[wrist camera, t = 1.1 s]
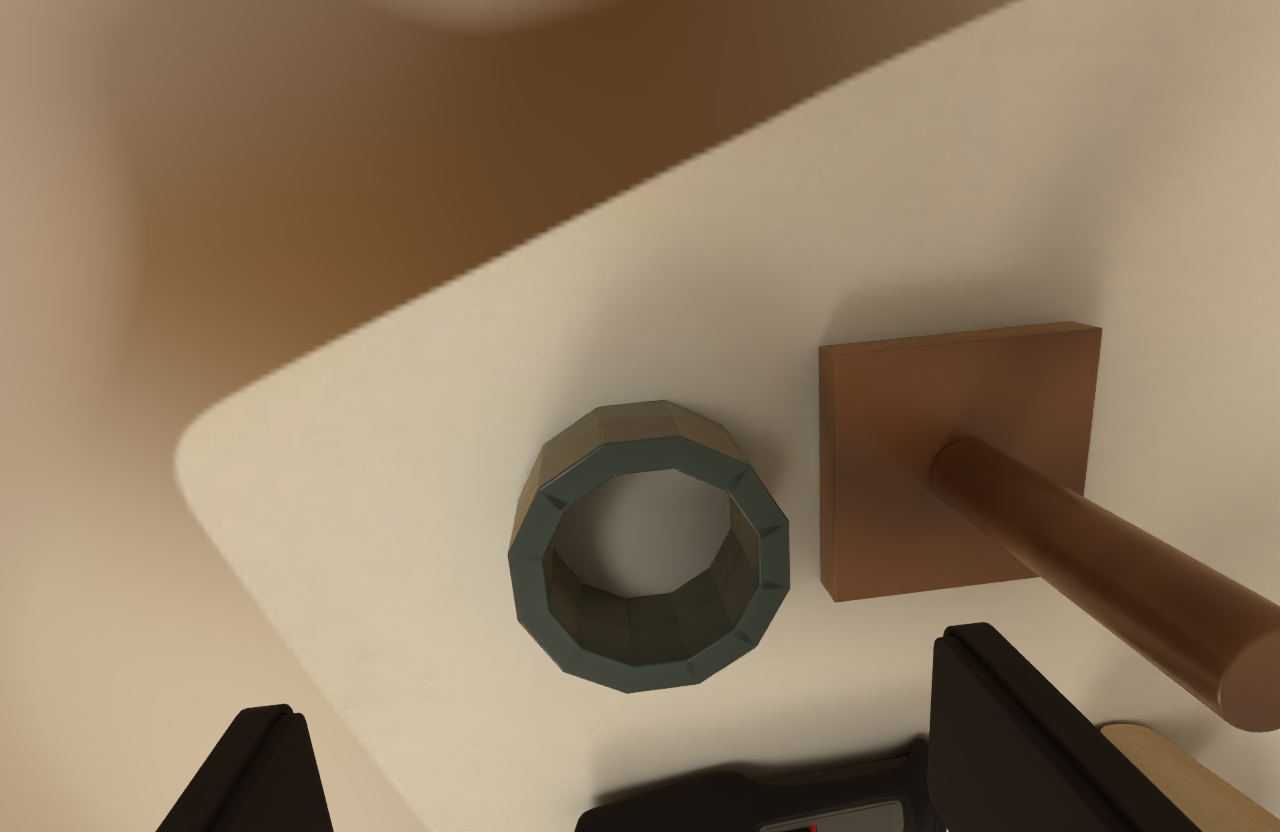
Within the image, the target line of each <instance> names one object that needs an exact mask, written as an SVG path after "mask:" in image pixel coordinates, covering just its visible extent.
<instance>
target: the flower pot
mask: <svg viewBox="0 0 1280 832" xmlns="http://www.w3.org/2000/svg"><path fill="white" fill-rule="evenodd" d="M1100 732H1101V733H1102V734H1103V735H1104V736H1105V737H1106V738H1107V739H1108V740H1109V741H1110V742H1111V743H1112V744H1113V745H1114V746H1115V747H1117V748H1118V749H1119V750H1120V751H1121V752H1122V753H1123V754H1124V755H1125V756H1126V757H1127V758H1128V759H1129V760H1130V761H1131V762H1132V763H1133V764H1134V765H1135V766H1136V767H1137V768H1138V769H1139V770H1140V771H1141V772H1142V773H1143V774H1144V775H1145V776H1146V777H1147V778H1148V779H1149V780H1150V781H1151V782H1152V783H1153V784H1154V785H1155V786H1156V787H1157V788H1158V789H1159V790H1160V791H1161V792H1162V793H1164V794H1165V795H1166V796H1167V797H1168V798H1169V799H1170V800H1171V801H1172V802H1173V803H1174V804H1175V805H1176V806H1177V807H1178V808H1179V809H1180V810H1181V811H1182V812H1183V813H1184V814H1185V815H1186V816H1187V817H1188V818H1189V819H1190V820H1191V821H1192V822H1193V823H1194V824H1195V825H1196V826H1197V827H1198V828H1199V829H1200V830H1201V831H1202V832H1280V820H1279V819H1278V818H1276V817H1275V816H1274V815H1272V814H1271V813H1269V812H1268V811H1267V810H1265V809H1264V808H1262V807H1261V806H1260V805H1258V804H1257V803H1255V802H1254V801H1252V800H1251V799H1250V798H1248V797H1247V796H1245V795H1244V794H1243V793H1241V792H1240V791H1238V790H1237V789H1235V788H1234V787H1233V786H1231V785H1230V784H1228V783H1227V782H1225V781H1224V780H1223V779H1221V778H1220V777H1218V776H1217V775H1216V774H1214V773H1213V772H1211V771H1210V770H1208V769H1207V768H1206V767H1204V766H1203V765H1201V764H1200V763H1199V762H1197V761H1196V760H1194V759H1193V758H1192V757H1190V756H1189V755H1187V754H1186V753H1185V752H1183V751H1182V750H1180V749H1179V748H1178V747H1176V746H1175V745H1173V744H1172V743H1171V742H1169V741H1168V740H1167V739H1165V738H1164V737H1163V736H1161V735H1160V734H1159V733H1157V732H1155V731H1153V730H1151V729H1149V728H1146V727H1143V726H1139V725H1133V724H1113V725H1107V726H1104V727H1102V729H1101V730H1100Z"/></svg>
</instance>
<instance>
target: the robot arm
mask: <svg viewBox="0 0 1280 832" xmlns="http://www.w3.org/2000/svg"><path fill="white" fill-rule="evenodd" d="M927 785H928V791H929V795H930V798H931V801H932V803H933V806H934V808H935V810H936V811H937V813H938V815H939V816H940V818H941V820H942V821H943V823H944V825H945V826H946V828H947V830H948V831H949V832H1202V831H1201V830H1200V829H1199V828H1198V827H1197V826H1196V825H1195V824H1194V823H1193V822H1192V821H1191V820H1190V819H1189V818H1188V817H1187V816H1186V815H1185V814H1184V813H1183V812H1182V811H1181V810H1180V809H1179V808H1178V807H1177V806H1176V805H1175V804H1174V803H1173V802H1172V801H1171V800H1170V799H1169V798H1168V797H1167V796H1166V795H1165V794H1164V793H1162V792H1161V791H1160V790H1159V789H1158V788H1157V787H1156V786H1155V785H1154V784H1153V783H1152V782H1151V781H1150V780H1149V779H1148V778H1147V777H1146V776H1145V775H1144V774H1143V773H1142V772H1141V771H1140V770H1139V769H1138V768H1137V767H1136V766H1135V765H1134V764H1133V763H1132V762H1131V761H1130V760H1129V759H1128V758H1127V757H1126V756H1125V755H1124V754H1123V753H1122V752H1121V751H1120V750H1119V749H1118V748H1117V747H1115V746H1114V745H1113V744H1112V743H1111V742H1110V741H1109V740H1108V739H1107V738H1106V737H1105V736H1104V735H1103V734H1102V733H1101V732H1100V731H1099V730H1098V729H1097V728H1096V727H1095V726H1094V725H1093V724H1092V723H1091V722H1090V721H1089V720H1088V719H1087V718H1086V717H1085V716H1084V715H1083V714H1082V713H1081V712H1080V711H1079V710H1078V709H1077V708H1076V707H1075V706H1074V705H1073V704H1072V703H1071V702H1070V701H1068V700H1067V699H1066V698H1065V697H1064V696H1063V695H1062V694H1061V693H1060V692H1059V691H1058V690H1057V689H1056V688H1055V687H1054V686H1053V685H1052V684H1051V683H1050V682H1049V681H1048V680H1047V679H1046V678H1045V677H1044V676H1043V675H1042V674H1041V673H1040V672H1039V671H1038V670H1037V669H1036V668H1035V667H1034V666H1033V665H1032V664H1031V663H1030V662H1029V661H1028V660H1027V659H1026V658H1025V657H1024V656H1022V655H1021V654H1020V653H1019V652H1018V651H1017V650H1016V649H1015V648H1014V647H1013V646H1012V645H1011V644H1010V643H1009V642H1008V641H1007V640H1006V639H1005V638H1004V637H1003V636H1002V635H1001V634H1000V633H999V632H998V631H997V630H996V629H995V628H994V627H993V626H991V625H990V624H989V623H985V622H981V623H972V624H964V625H955V626H949V627H947V628H946V629H945V631H944V635H943V637H939V638H937V639H936V640H935V642H934V652H933V672H932V692H931V712H930V732H929V752H928V772H927ZM156 832H334V831H333V827H332V823H331V819H330V815H329V811H328V808H327V803H326V799H325V795H324V791H323V787H322V783H321V779H320V775H319V771H318V767H317V763H316V759H315V755H314V751H313V748H312V743H311V739H310V735H309V731H308V727H307V723H306V720H305V717H304V716H303V715H302V714H301V713H293V710H292V708H291V707H290V706H289V705H287V704H279V705H270V706H261V707H253V708H246V709H243V710H241V711H240V713H239V714H238V715H237V716H236V717H235V719H234V720H233V722H232V723H231V724H230V726H229V727H228V729H227V730H226V732H225V733H224V734H223V736H222V737H221V739H220V740H219V742H218V743H217V744H216V746H215V747H214V749H213V750H212V752H211V753H210V755H209V756H208V757H207V759H206V761H205V762H204V763H203V765H202V766H201V767H200V769H199V770H198V772H197V773H196V775H195V776H194V778H193V779H192V780H191V782H190V783H189V785H188V786H187V788H186V789H185V790H184V792H183V793H182V795H181V796H180V798H179V799H178V800H177V802H176V803H175V805H174V806H173V808H172V809H171V810H170V812H169V813H168V815H167V816H166V818H165V819H164V820H163V822H162V823H161V825H160V826H159V828H158V829H157V831H156Z"/></svg>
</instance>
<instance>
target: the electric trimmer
mask: <svg viewBox="0 0 1280 832" xmlns="http://www.w3.org/2000/svg"><path fill="white" fill-rule="evenodd" d="M928 752H929V744H928V742H927V741H926V740H925V739H924V738H920V739H915V741H914V745H913V749H912V750H911V752H910V753H909V754H908V755H907V757H906V756H903V757H899V758H895V759H889V760H883V761H877V762H871V763H865V764H860V765H854V766H848V767H842V768H836V769H830V770H824V771H818V772H812V773H807V774H801V775H795V776H789V777H783V778H777V779H771V780H765V781H759V782H758V781H756V780H754V779H751V778H749V777H747V776H744V775H742V774H739V773H737V772H735V771H727V772H723V773H719V774H715V775H712V776H708V777H704V778H700V779H696V780H692V781H688V782H685V783H681V784H677V785H673V786H670V787H666V788H663V789H659V790H656V791H652V792H649V793H645V794H642V795H638V796H635V797H631V798H628V799H624V800H621V801H617V802H614V803H610V804H607V805H603V806H600V807H596V808H593V809H590V810H588V811H586V812H584V813H583V814H582V815H581V817H580V818H579V820H578V822H577V825H576V828H575V831H574V832H946V829H947V828H946V826H945V825H944V823H943V821H942V820H941V818H940V816H939V815H938V813H937V811H936V810H935V808H934V806H933V803H932V801H931V798H930V795H929V791H928V785H927V772H928Z"/></svg>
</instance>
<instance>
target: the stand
mask: <svg viewBox="0 0 1280 832" xmlns="http://www.w3.org/2000/svg"><path fill="white" fill-rule="evenodd" d="M1101 337H1102V328H1100V327H1095V326H1090V325H1086V324H1081V323H1077V322H1072V321H1070V322H1060V323H1050V324H1040V325H1030V326H1020V327H1010V328H1000V329H990V330H980V331H970V332H960V333H950V334H940V335H930V336H920V337H910V338H900V339H890V340H880V341H870V342H860V343H850V344H840V345H830V346H821V347H819V407H820V556H821V583H822V584H823V585H824V587H825V588H826V590H827V591H828V593H829V594H830V596H831V597H832V599H833V600H834V602H842V601H850V600H858V599H866V598H874V597H882V596H890V595H898V594H906V593H914V592H922V591H930V590H938V589H946V588H954V587H962V586H970V585H978V584H986V583H994V582H1002V581H1010V580H1018V579H1026V578H1034V577H1041V578H1043V579H1044V580H1045V581H1047V582H1048V583H1049V584H1050V585H1052V586H1053V587H1054V588H1056V589H1057V590H1058V591H1059V592H1061V593H1062V594H1063V595H1065V596H1066V597H1067V598H1068V599H1070V600H1071V601H1072V602H1073V603H1075V604H1076V605H1077V606H1079V607H1080V608H1081V609H1082V610H1084V611H1085V612H1086V613H1088V614H1089V615H1090V616H1091V617H1093V618H1094V619H1095V620H1097V621H1098V622H1099V623H1100V624H1102V625H1103V626H1104V627H1106V628H1107V629H1108V630H1109V631H1111V632H1112V633H1113V634H1115V635H1116V636H1117V637H1118V638H1120V639H1121V640H1122V641H1124V642H1125V643H1126V644H1127V645H1129V646H1130V647H1131V648H1133V649H1134V650H1135V651H1136V652H1138V653H1139V654H1140V655H1142V656H1143V657H1144V658H1145V659H1147V660H1148V661H1149V662H1151V663H1152V664H1153V665H1154V666H1156V667H1157V668H1158V669H1160V670H1161V671H1162V672H1163V673H1165V674H1166V675H1167V676H1169V677H1170V678H1171V679H1172V680H1174V681H1175V682H1176V683H1178V684H1179V685H1180V686H1181V687H1183V688H1184V689H1185V690H1187V691H1188V692H1189V693H1190V694H1192V695H1193V696H1194V697H1196V698H1197V699H1198V700H1199V701H1201V702H1202V703H1203V704H1205V705H1206V706H1207V707H1208V708H1210V709H1211V710H1212V711H1214V712H1215V713H1216V714H1217V715H1219V716H1220V717H1221V718H1223V719H1224V720H1225V721H1226V722H1228V723H1229V724H1230V725H1232V726H1234V727H1236V728H1238V729H1242V730H1245V731H1249V732H1269V731H1274V730H1278V729H1280V606H1278V605H1277V604H1275V603H1273V602H1271V601H1269V600H1268V599H1266V598H1264V597H1262V596H1260V595H1259V594H1257V593H1255V592H1253V591H1251V590H1250V589H1248V588H1246V587H1244V586H1242V585H1241V584H1239V583H1237V582H1235V581H1233V580H1232V579H1230V578H1228V577H1226V576H1224V575H1223V574H1221V573H1219V572H1217V571H1215V570H1214V569H1212V568H1210V567H1208V566H1206V565H1205V564H1203V563H1201V562H1199V561H1197V560H1196V559H1194V558H1192V557H1190V556H1188V555H1187V554H1185V553H1183V552H1181V551H1179V550H1178V549H1176V548H1174V547H1172V546H1170V545H1169V544H1167V543H1165V542H1163V541H1161V540H1160V539H1158V538H1156V537H1154V536H1152V535H1151V534H1149V533H1147V532H1145V531H1143V530H1142V529H1140V528H1138V527H1136V526H1135V525H1133V524H1131V523H1129V522H1127V521H1126V520H1124V519H1122V518H1120V517H1118V516H1117V515H1115V514H1113V513H1111V512H1109V511H1108V510H1106V509H1104V508H1102V507H1100V506H1099V505H1097V504H1095V503H1093V502H1091V501H1090V500H1088V499H1086V498H1084V497H1083V496H1084V488H1085V479H1086V470H1087V461H1088V452H1089V443H1090V435H1091V426H1092V417H1093V408H1094V399H1095V390H1096V382H1097V373H1098V364H1099V355H1100V346H1101Z"/></svg>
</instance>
